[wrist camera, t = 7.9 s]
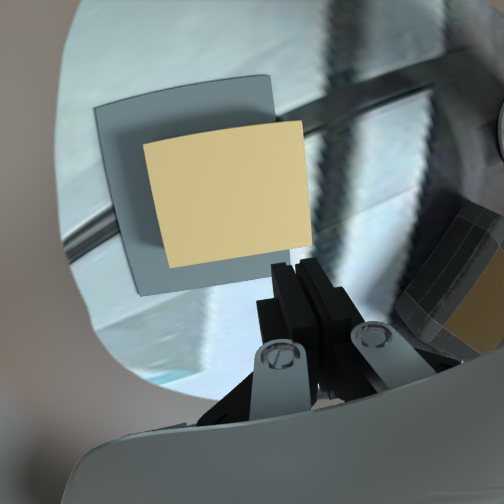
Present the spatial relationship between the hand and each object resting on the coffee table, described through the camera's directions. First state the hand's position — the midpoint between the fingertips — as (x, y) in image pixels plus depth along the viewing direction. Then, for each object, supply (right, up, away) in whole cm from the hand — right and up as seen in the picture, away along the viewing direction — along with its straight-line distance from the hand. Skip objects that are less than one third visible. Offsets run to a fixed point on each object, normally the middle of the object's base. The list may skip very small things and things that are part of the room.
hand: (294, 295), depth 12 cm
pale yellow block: (+3, +9, +18) cm, 20 cm away
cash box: (+33, -4, +31) cm, 45 cm away
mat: (-7, +8, +20) cm, 23 cm away
